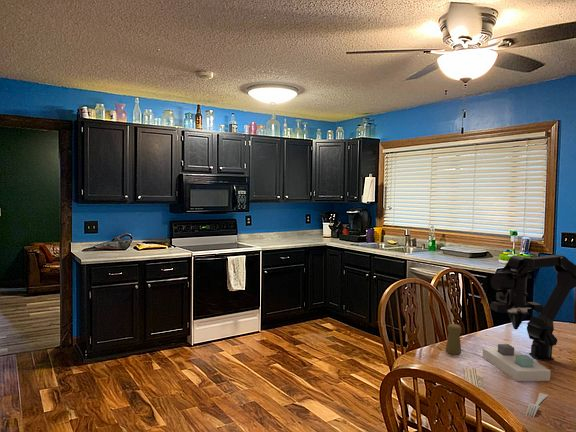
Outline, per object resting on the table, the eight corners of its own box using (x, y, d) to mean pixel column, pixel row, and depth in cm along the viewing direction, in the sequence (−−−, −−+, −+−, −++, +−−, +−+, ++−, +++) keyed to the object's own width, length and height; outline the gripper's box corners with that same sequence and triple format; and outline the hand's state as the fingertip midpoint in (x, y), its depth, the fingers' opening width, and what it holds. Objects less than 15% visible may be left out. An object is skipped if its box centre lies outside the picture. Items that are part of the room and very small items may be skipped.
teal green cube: (525, 365, 158) (526, 354, 158) (532, 370, 154) (533, 359, 154) (515, 365, 158) (515, 355, 158) (522, 370, 154) (522, 359, 154)
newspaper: (463, 370, 160) (463, 366, 160) (484, 374, 157) (484, 369, 157) (466, 399, 138) (466, 393, 137) (491, 403, 135) (491, 397, 135)
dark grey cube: (507, 354, 169) (508, 344, 169) (513, 358, 165) (514, 347, 165) (497, 354, 169) (498, 344, 169) (503, 358, 165) (504, 347, 165)
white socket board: (511, 356, 173) (511, 347, 173) (549, 380, 151) (550, 370, 151) (482, 356, 172) (482, 348, 172) (517, 381, 150) (517, 371, 150)
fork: (548, 403, 141) (549, 394, 141) (534, 420, 125) (535, 410, 125) (539, 400, 142) (539, 391, 142) (523, 417, 127) (524, 407, 127)
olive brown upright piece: (462, 354, 174) (464, 327, 173) (446, 353, 175) (447, 326, 174) (459, 349, 180) (461, 323, 179) (444, 348, 181) (445, 321, 180)
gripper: (527, 284, 178) (524, 322, 178) (483, 284, 176) (481, 322, 177) (545, 291, 167) (543, 331, 167) (499, 290, 165) (497, 331, 166)
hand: (515, 329), depth 170 cm, fingers closed
